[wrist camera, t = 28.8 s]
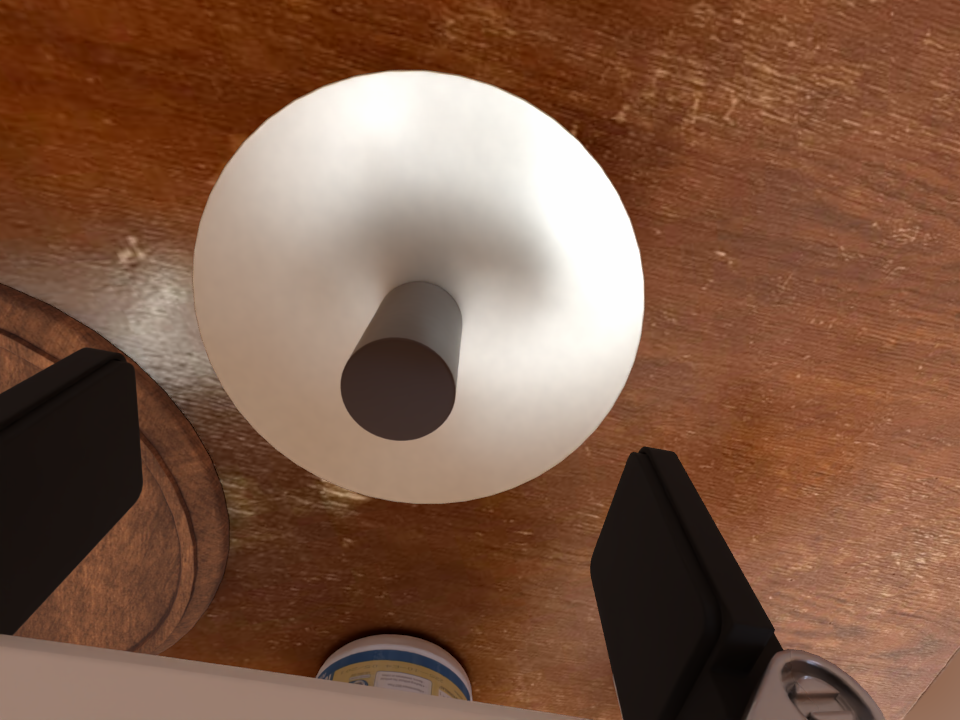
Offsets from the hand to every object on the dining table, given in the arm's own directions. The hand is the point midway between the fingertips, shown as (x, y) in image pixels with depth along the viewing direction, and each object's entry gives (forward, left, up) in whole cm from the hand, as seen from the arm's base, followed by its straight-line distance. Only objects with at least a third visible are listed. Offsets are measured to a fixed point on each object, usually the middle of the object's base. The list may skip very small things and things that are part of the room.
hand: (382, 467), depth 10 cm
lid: (0, 0, -10) cm, 10 cm away
